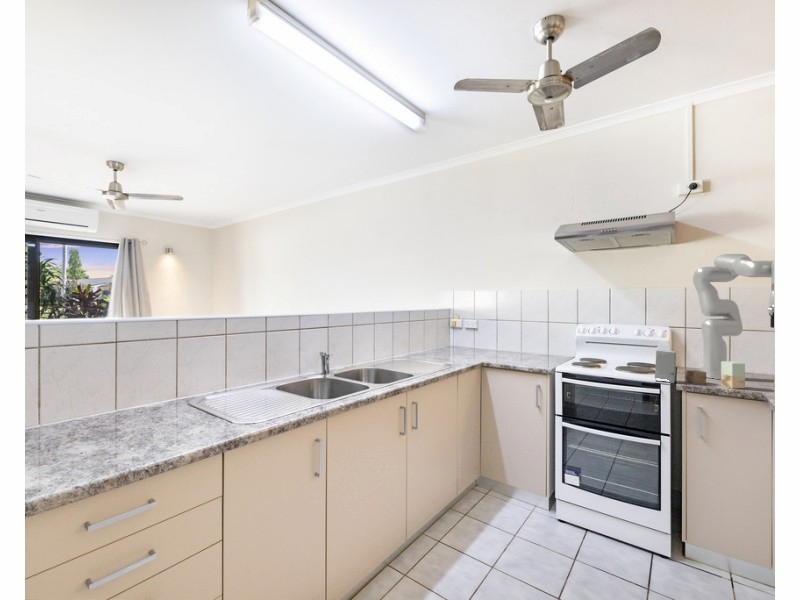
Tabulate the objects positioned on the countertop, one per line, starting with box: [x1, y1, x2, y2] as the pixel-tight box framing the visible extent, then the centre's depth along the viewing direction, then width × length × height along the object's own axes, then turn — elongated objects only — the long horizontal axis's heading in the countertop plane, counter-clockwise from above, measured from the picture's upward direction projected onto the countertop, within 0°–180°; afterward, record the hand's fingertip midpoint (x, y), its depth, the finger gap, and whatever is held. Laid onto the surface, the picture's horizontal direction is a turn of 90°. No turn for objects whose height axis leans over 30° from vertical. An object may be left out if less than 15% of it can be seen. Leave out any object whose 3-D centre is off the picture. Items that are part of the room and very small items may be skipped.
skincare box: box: [654, 349, 677, 384], centre depth 192 cm, size 8×7×16 cm
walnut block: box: [684, 369, 707, 385], centre depth 189 cm, size 6×6×6 cm
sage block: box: [721, 360, 746, 377], centre depth 179 cm, size 6×6×6 cm
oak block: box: [720, 374, 746, 389], centre depth 179 cm, size 6×6×6 cm
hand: (782, 327), depth 163 cm, fingers open, 9 cm apart
